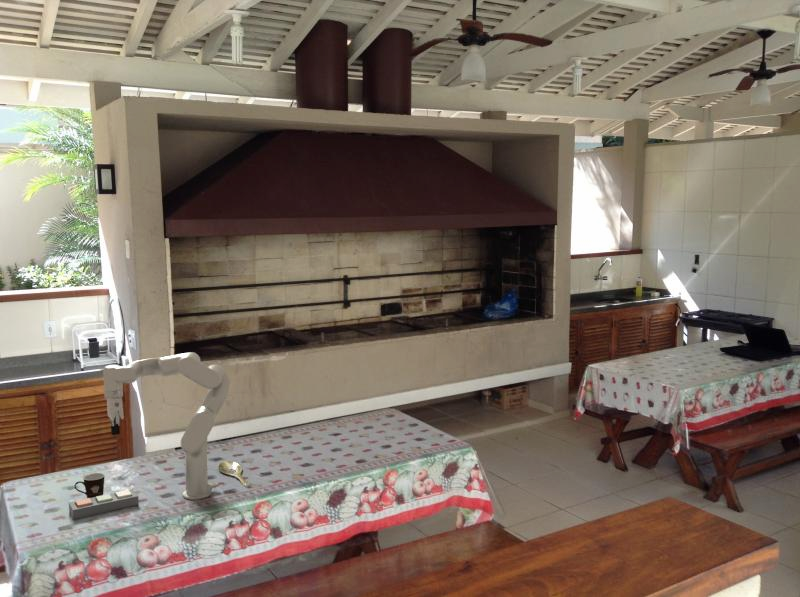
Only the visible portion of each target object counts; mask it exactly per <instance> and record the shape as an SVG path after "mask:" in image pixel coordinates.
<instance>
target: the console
mask: <svg viewBox="0 0 800 597" xmlns="http://www.w3.org/2000/svg"><path fill="white" fill-rule="evenodd" d="M128 490H129V491H130V493H131V494H132V496H130V497H125V498H120V499H117V497H116V495H115V493H116V492H114V493H113V492H112V493H109V494H110V496H111V497H112V500H111V501H107V502H102V503H97V501H96V497H93V498H90V500H91V502H92V505H88V506H83V507H79V508H77V507H76V502H75V501H76V500H75V501H70V502H68V511H69V515H70V517H71V519H72V520H73V521H77V520H78V521H79V520H82V519H86V518H87V519H88V518H91V517H95V516H100V515H104V514H108V513H114V512H118V511H122V510H126V509H131V508H135V507H136V508H137V507H139V505H140V502H139V495H138V494H137V493H136V491H135V490H134V488H132V489H131V488H130V489H128Z"/></svg>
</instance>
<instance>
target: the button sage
mask: <svg viewBox="0 0 800 597" xmlns="http://www.w3.org/2000/svg"><path fill="white" fill-rule="evenodd" d="M110 494H111V493H106V494H103V495H101V496H96V501H97V503H102V502H107V501H111V500H112V497H111V496H110Z"/></svg>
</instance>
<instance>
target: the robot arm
mask: <svg viewBox="0 0 800 597" xmlns="http://www.w3.org/2000/svg"><path fill="white" fill-rule="evenodd" d="M201 361H202V360H201V356H199V354H197V353H196V352H193V351H192V352H191V351H190V352H184V353H177V354H174V355H168V356H163V357H154V358H153V357H152V358H145V359H140V360H135V361H132V362H129V363H128V364H126V365H125V366H121V365H119V364H109V365H105V366H104V367H103V370H102V373H103V393H104V399H106V410H107V417H108V418H109V420H110V430H111V431H110V432H111V433H110V434H111V435H112V436H116V435H120V434H121V429H120V420H124V419H125V418H124V417H125V416H124V408H123V407H124V405H123V404H124V403H123V398H122V397H124V388H123V387H124V385H123V384H133V383H135V382H136V381H137V380H138V379H139V378H142V377H143V378H144V377H147V376H153V375H154V376H155V375H156V376H157V375H159V376H161V377H170V376H174V375H175V376H176V375H180V374H181V375H183V376H184V377H185V378H187V379H188V380H190V381H192V382H194V383H195V384H197V385H199V386H201V387H203V388H205V389H207V392H206V393H205V395H204V398H203V400H202V403H201V404H200V405H199V407H198V408H197V410H196V411H195V412H194V414H193V416H192V417H191V419H190V421H189V424H188V425H187V428H186V430H185V431H184V433H183V435H182V437H181V440H180V448H181V450H182V451H183V452H184V468H185V471H184V473H185V490H184V491H183V492H182V498H184V499H186V500H189V501H191V500H192V501H196V500H197V501H199V500H203V499H205V498H208V497H210V496H211V495H212V493H213V490H212V489H216V488H219V487H220V485H219V482H214V481H212V482H209V478H208V477H209V476H208V475H209V474H208V473H209V472H208V437H209V435H210V434H211V431H212V429H213V427H214V425H215V423H216V421H217V418H218V415H219V413H220V411H221V409H222V407H223V405H224V402H225V401H226V398H227V396H228V394H229V391H230V378H229V374H228V373H227V370H226V369H225V368H224V367H223V366H221V365H220V364H215V363H214V364H211V365H209V366H207V365H205V364H203V363H202V362H201Z"/></svg>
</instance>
